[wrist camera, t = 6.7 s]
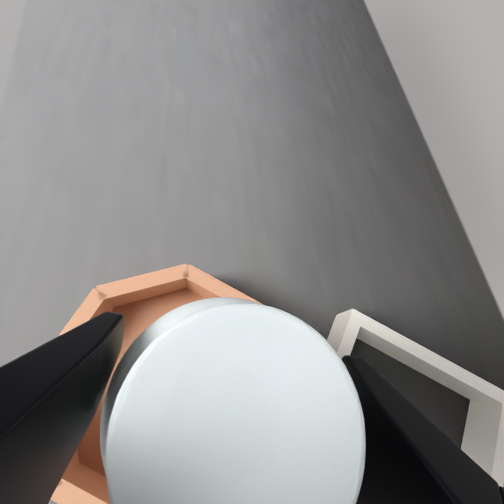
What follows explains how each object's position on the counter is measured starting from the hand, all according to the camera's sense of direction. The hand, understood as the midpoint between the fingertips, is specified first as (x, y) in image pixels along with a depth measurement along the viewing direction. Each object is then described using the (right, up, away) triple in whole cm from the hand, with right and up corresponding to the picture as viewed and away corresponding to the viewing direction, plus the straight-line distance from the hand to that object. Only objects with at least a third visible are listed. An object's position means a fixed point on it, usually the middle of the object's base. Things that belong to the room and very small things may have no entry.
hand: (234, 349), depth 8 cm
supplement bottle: (-1, -4, +6) cm, 7 cm away
